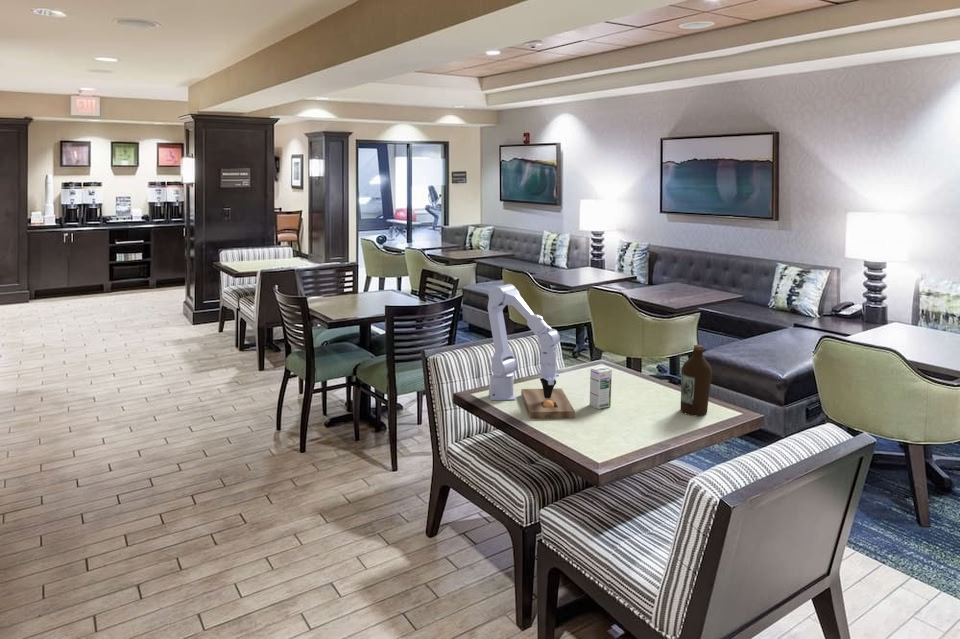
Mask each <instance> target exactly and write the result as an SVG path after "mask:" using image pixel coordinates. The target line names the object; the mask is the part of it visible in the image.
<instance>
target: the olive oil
mask: <svg viewBox="0 0 960 639" xmlns="http://www.w3.org/2000/svg"><path fill="white" fill-rule="evenodd" d="M692 350H693V351H692V353H693V354H692V356H691V357H690V358H688V359H687V360H685V361H684V363H683V365H682V367H681V371H680V375H681V376H680V409H679V410H680V412H681V411H682V412H681V413H683V414H685V413H686V414H685V415H688V414H689V416H693V415H702V416H705V415H707V414H708V408H709V407H708V406H709V398H710V391H711V384H712V376H713V370H712V366H711V365H710V363H709V362H708V361H707V360H706V359H705V357H704V356H703V354H704V345H702V344H695V345H693V349H692ZM706 413H707V414H706ZM704 414H705V415H704Z"/></svg>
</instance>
